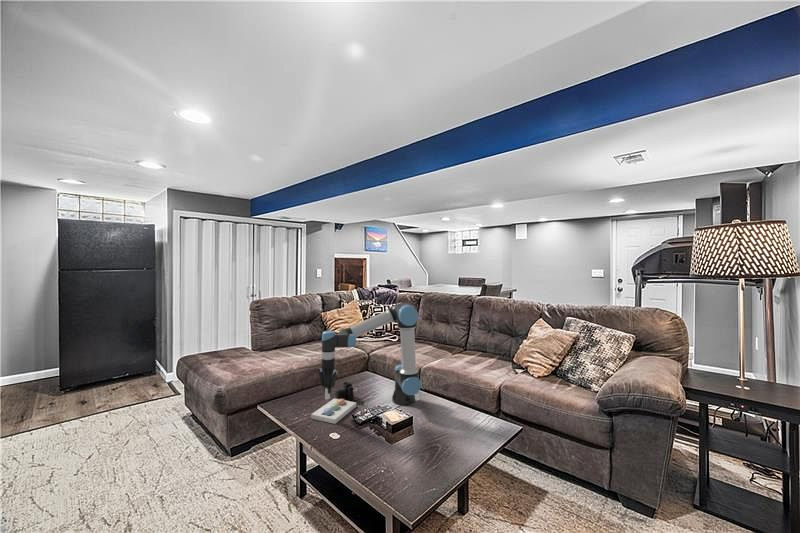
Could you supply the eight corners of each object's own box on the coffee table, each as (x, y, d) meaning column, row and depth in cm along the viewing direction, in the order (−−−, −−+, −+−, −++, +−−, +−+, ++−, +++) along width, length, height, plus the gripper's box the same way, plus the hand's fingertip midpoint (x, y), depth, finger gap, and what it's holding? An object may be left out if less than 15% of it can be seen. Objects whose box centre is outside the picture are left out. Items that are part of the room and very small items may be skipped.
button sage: (340, 408, 202) (340, 403, 202) (335, 412, 197) (335, 407, 197) (333, 407, 204) (333, 402, 203) (329, 410, 199) (329, 405, 199)
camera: (333, 396, 224) (333, 381, 224) (348, 393, 229) (348, 379, 228) (338, 404, 212) (338, 388, 211) (354, 401, 216) (354, 386, 216)
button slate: (333, 413, 195) (333, 408, 195) (329, 417, 191) (329, 412, 191) (326, 412, 197) (326, 407, 197) (322, 415, 193) (322, 410, 192)
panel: (356, 406, 209) (356, 402, 209) (335, 423, 186) (335, 419, 186) (334, 402, 215) (334, 398, 214) (311, 418, 192) (311, 414, 192)
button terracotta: (346, 404, 208) (346, 399, 208) (342, 407, 204) (342, 402, 204) (339, 402, 210) (339, 398, 210) (335, 406, 206) (335, 401, 205)
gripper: (341, 357, 194) (340, 398, 195) (322, 355, 199) (321, 394, 200) (334, 361, 187) (333, 403, 188) (314, 358, 192) (314, 399, 193)
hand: (327, 398), depth 194 cm, fingers closed
